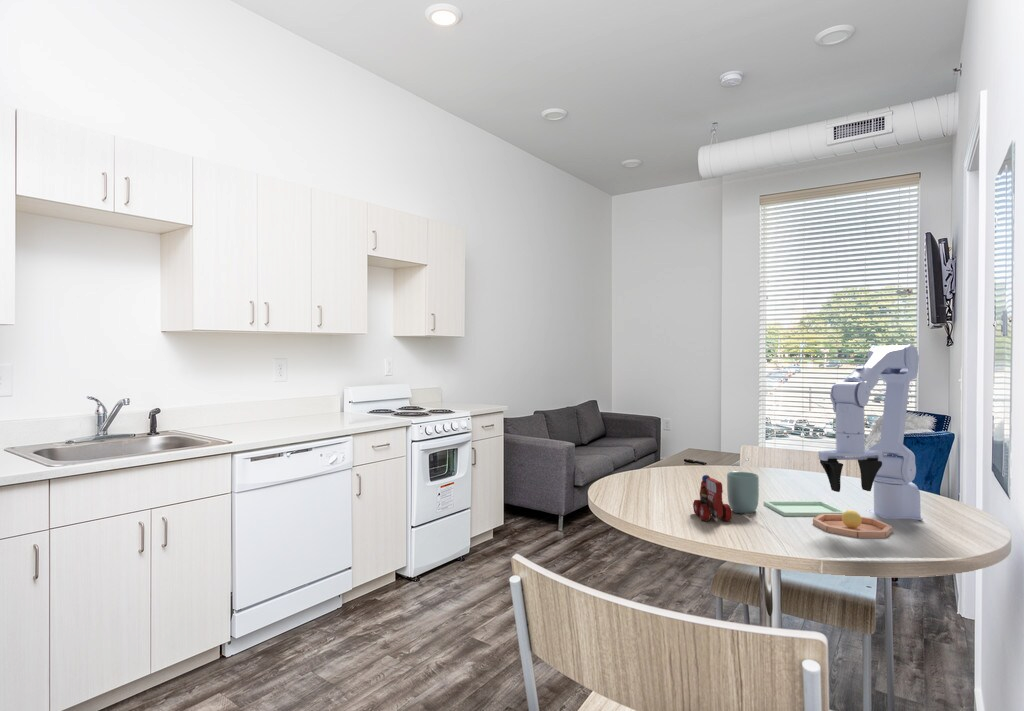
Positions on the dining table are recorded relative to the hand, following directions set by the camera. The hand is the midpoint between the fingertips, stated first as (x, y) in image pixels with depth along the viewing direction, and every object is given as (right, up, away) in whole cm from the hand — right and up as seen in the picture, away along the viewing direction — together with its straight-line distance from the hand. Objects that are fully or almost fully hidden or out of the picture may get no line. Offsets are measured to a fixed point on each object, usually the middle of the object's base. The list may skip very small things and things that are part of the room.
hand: (851, 490), depth 130 cm
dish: (0, -9, 0) cm, 9 cm away
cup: (-19, -10, +16) cm, 27 cm away
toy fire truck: (-29, -10, +11) cm, 32 cm away
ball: (0, -9, 0) cm, 9 cm away
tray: (-3, -10, +16) cm, 19 cm away
